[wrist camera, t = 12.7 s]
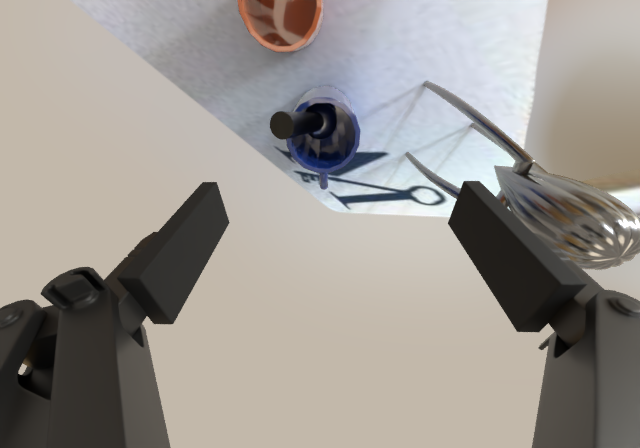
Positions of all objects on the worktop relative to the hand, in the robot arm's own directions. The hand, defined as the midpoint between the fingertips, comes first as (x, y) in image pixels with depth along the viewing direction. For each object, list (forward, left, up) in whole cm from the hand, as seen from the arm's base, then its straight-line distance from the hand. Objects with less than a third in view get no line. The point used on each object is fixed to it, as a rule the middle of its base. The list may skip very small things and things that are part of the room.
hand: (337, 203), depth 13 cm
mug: (+4, -1, -29) cm, 29 cm away
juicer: (+3, +18, -29) cm, 34 cm away
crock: (-11, -5, -29) cm, 31 cm away
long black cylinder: (+2, -1, -28) cm, 28 cm away
